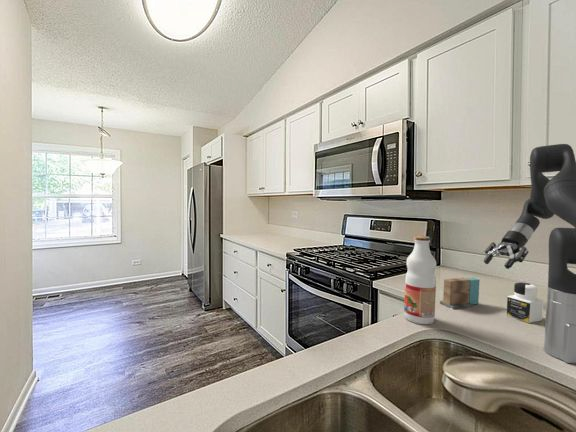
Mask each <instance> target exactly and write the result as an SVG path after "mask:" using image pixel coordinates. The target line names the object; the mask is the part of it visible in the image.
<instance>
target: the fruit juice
mask: <svg viewBox="0 0 576 432" xmlns="http://www.w3.org/2000/svg"><path fill="white" fill-rule="evenodd" d="M413 241H414V246H413V250H412V252H411V253H410V254H409V255H408V256H407V257H406V263H405V264H406V268H407V270H406V271H407V272H406V274H405V280H404V302H403V303H404V306H403V316H404V318H405V319H406V321H409V322H411V323H414V324H417V325H431V324H433V323H434V322H435V319H436V317H435V315H436V291H437V277H436V274H435V272H436V269H437V260H436V259H435V257H434V256H433V255H432V253H431V249H430V242H431V237H430V236H425V235H415V236H414V237H413Z"/></svg>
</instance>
